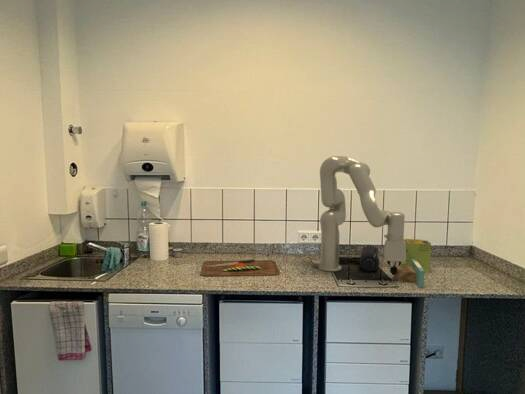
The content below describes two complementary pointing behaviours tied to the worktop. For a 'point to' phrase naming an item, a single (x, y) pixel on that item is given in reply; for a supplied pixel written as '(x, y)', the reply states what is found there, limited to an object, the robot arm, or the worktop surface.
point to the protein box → (418, 253)
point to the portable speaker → (369, 258)
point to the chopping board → (239, 268)
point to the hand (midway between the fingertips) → (393, 274)
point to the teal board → (418, 273)
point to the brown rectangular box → (405, 274)
